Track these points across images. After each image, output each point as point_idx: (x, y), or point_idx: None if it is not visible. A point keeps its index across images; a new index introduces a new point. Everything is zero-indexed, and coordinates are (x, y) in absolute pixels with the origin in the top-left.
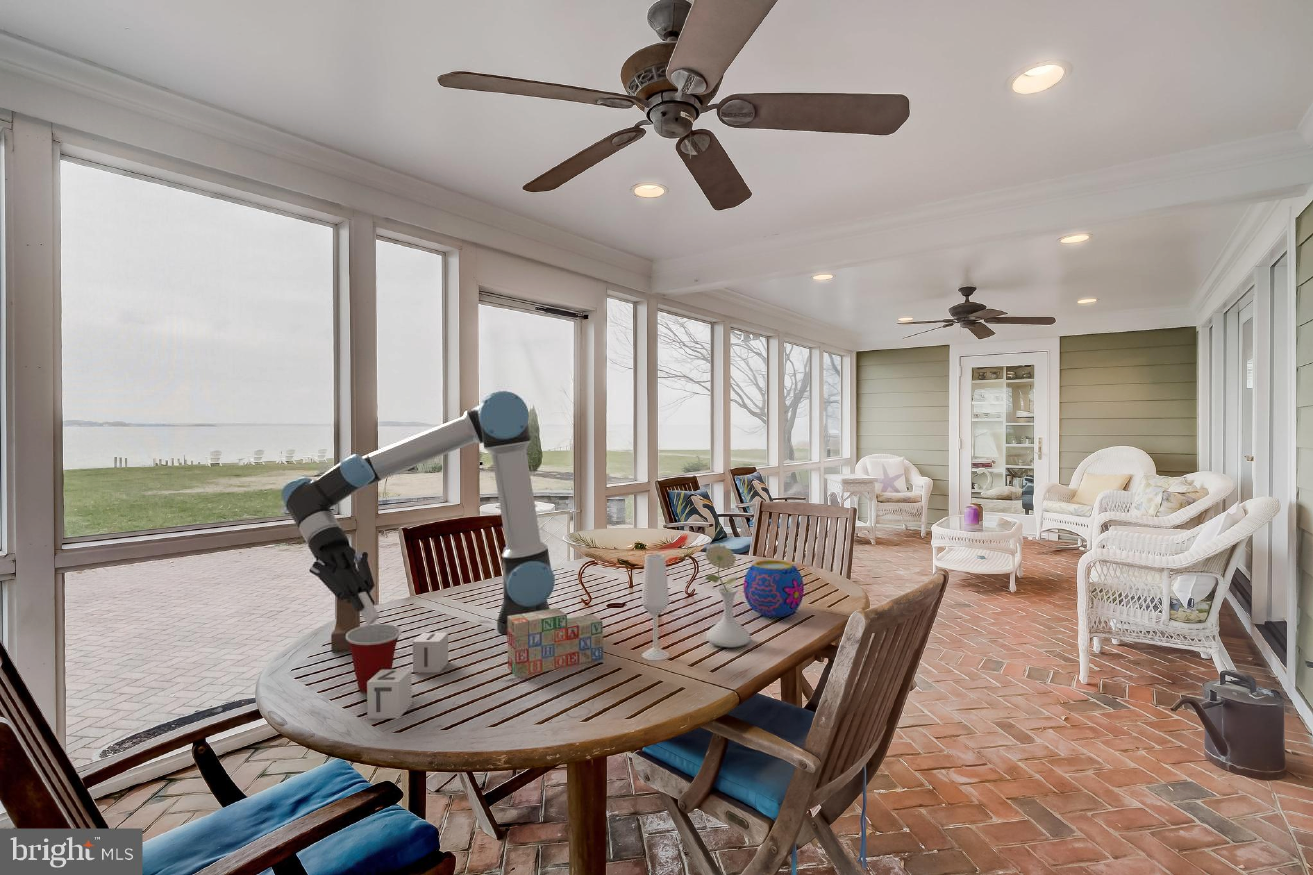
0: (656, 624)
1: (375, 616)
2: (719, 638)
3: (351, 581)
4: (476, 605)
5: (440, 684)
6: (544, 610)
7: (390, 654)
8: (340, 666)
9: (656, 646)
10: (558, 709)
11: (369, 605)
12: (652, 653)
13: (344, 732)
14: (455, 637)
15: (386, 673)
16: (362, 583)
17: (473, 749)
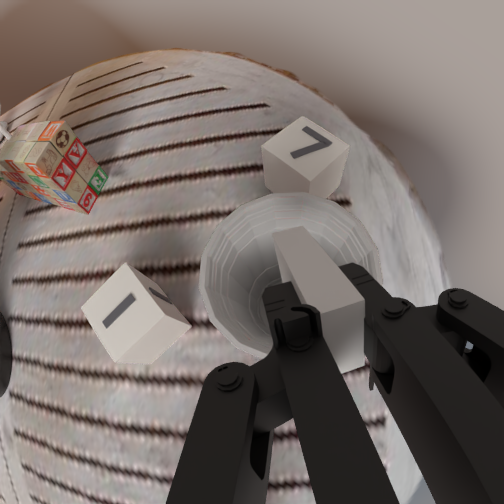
0: (3, 126)
1: (291, 228)
2: None
3: (430, 393)
4: (4, 499)
5: (189, 225)
6: (7, 157)
7: (261, 242)
8: (293, 479)
9: None
10: (156, 87)
11: (307, 254)
12: None
13: (374, 169)
14: (56, 425)
15: (308, 156)
16: (318, 390)
17: (265, 69)
